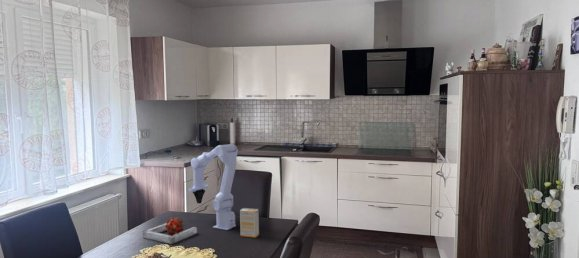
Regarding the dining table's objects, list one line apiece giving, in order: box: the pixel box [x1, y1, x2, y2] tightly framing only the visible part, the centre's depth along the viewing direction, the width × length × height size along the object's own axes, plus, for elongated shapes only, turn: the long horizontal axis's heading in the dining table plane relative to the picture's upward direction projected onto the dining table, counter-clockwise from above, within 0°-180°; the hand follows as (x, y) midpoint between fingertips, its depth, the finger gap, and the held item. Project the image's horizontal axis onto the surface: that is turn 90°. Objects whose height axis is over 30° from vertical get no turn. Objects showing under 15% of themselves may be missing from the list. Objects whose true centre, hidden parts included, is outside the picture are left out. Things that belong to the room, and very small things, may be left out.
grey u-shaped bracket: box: [142, 222, 198, 245], centre depth 190 cm, size 19×17×3 cm
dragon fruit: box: [165, 217, 185, 236], centre depth 192 cm, size 8×8×12 cm
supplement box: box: [239, 207, 260, 239], centre depth 189 cm, size 8×5×13 cm, turn 71°
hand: (199, 203), depth 215 cm, fingers closed
